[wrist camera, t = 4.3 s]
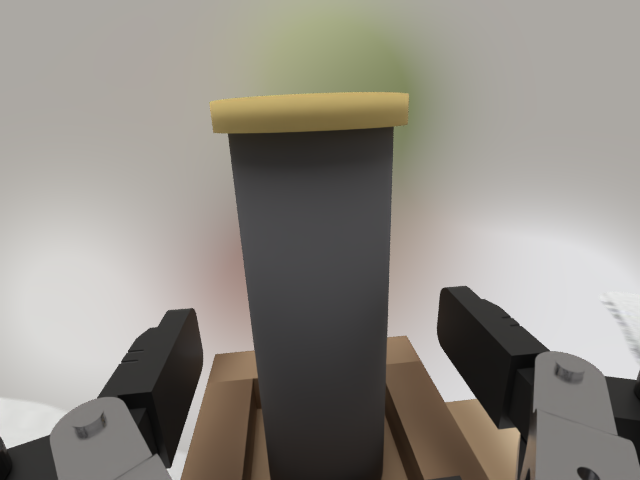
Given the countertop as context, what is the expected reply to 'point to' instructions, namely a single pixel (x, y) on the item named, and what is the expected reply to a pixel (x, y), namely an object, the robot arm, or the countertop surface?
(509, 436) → the cork mat
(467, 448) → the socket block
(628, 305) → the countertop surface
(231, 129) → the plug
